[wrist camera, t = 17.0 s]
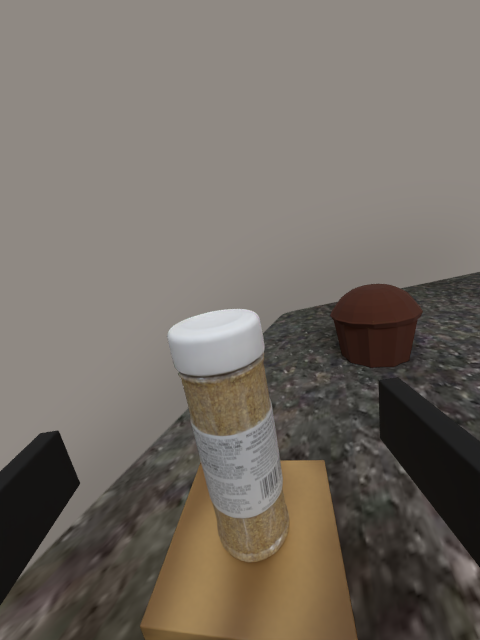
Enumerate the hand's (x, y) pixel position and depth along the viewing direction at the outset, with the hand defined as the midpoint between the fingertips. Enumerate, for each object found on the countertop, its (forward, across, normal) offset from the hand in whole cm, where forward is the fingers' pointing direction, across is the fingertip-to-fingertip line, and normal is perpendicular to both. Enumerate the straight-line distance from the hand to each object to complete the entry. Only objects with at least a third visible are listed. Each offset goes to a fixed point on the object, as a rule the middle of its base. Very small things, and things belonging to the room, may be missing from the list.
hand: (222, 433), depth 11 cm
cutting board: (+3, 0, -11) cm, 11 cm away
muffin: (+26, +20, -11) cm, 34 cm away
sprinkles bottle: (+3, 0, -10) cm, 10 cm away
